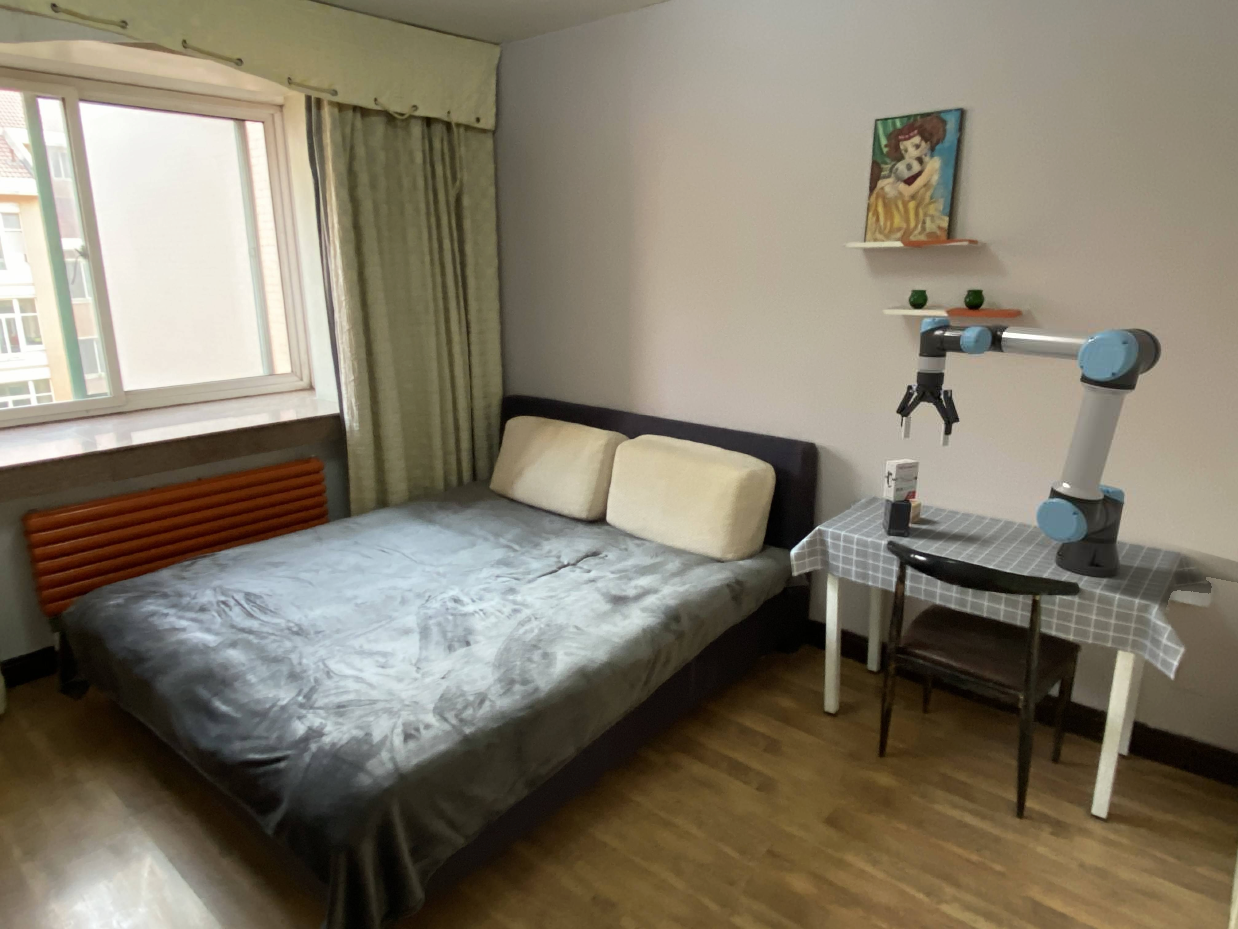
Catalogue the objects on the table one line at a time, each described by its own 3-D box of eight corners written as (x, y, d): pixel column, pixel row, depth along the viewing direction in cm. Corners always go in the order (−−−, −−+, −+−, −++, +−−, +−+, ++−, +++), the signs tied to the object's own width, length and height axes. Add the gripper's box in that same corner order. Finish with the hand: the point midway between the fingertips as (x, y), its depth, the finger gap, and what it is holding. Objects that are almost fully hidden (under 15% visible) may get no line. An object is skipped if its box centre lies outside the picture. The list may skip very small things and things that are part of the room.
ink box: (904, 494, 237) (908, 457, 235) (915, 499, 233) (919, 461, 230) (882, 497, 234) (885, 460, 231) (893, 501, 230) (896, 463, 227)
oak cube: (919, 519, 247) (921, 502, 246) (911, 524, 243) (913, 506, 241) (901, 515, 251) (903, 498, 250) (893, 519, 247) (894, 502, 246)
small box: (909, 537, 231) (913, 503, 228) (886, 535, 232) (890, 502, 229) (903, 526, 241) (906, 494, 238) (881, 524, 242) (884, 492, 239)
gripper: (977, 374, 216) (969, 447, 221) (904, 366, 237) (898, 433, 242) (960, 376, 212) (952, 450, 217) (887, 367, 233) (882, 436, 238)
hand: (924, 441), depth 230 cm, fingers open, 13 cm apart
